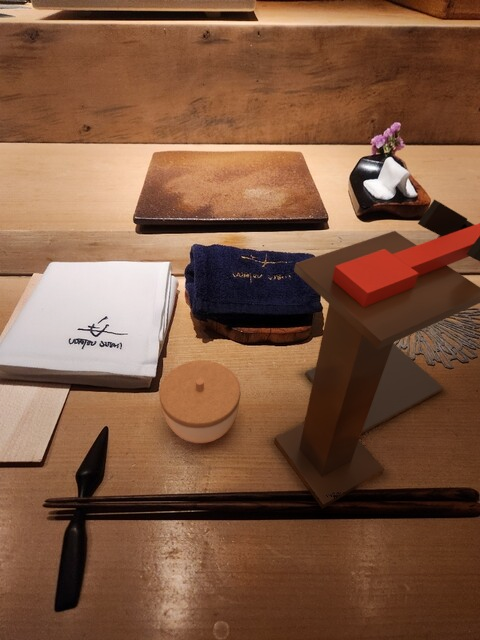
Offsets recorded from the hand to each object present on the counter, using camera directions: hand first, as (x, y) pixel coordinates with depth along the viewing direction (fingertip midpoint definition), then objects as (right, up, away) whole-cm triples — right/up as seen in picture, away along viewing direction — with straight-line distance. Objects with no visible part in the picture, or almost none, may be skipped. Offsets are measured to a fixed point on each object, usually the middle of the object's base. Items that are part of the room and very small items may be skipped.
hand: (453, 227), depth 43 cm
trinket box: (-26, -24, +23) cm, 42 cm away
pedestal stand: (-7, -27, +20) cm, 34 cm away
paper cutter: (+1, -19, +29) cm, 35 cm away
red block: (-1, -3, +2) cm, 3 cm away
